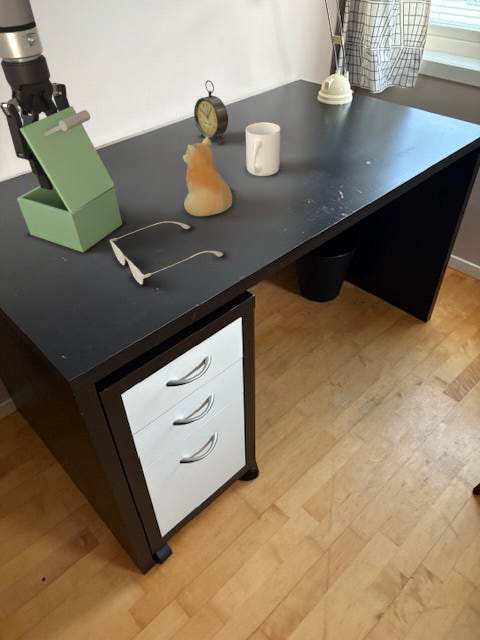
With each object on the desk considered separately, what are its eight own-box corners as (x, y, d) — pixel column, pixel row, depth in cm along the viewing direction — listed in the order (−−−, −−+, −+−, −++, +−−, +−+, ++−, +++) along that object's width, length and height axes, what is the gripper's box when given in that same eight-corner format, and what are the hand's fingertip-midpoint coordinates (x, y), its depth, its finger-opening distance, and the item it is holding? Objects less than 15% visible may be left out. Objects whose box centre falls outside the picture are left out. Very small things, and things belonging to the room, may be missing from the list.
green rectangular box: (30, 234, 105) (16, 198, 99) (71, 209, 113) (60, 173, 107) (83, 252, 99) (71, 214, 93) (122, 224, 107) (114, 187, 101)
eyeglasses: (111, 254, 98) (107, 238, 95) (187, 225, 105) (185, 209, 102) (145, 292, 88) (141, 274, 85) (226, 257, 95) (225, 240, 93)
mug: (237, 180, 120) (236, 138, 113) (252, 161, 129) (251, 120, 122) (270, 184, 118) (270, 142, 111) (283, 164, 126) (284, 123, 119)
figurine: (178, 197, 115) (170, 135, 105) (228, 188, 117) (225, 127, 107) (190, 222, 106) (182, 157, 96) (243, 212, 109) (241, 147, 99)
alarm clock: (195, 137, 143) (189, 78, 132) (209, 132, 146) (204, 74, 135) (218, 146, 137) (214, 86, 126) (232, 141, 139) (230, 82, 129)
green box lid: (19, 129, 85) (43, 116, 80) (70, 107, 93) (94, 94, 88) (69, 213, 93) (94, 206, 88) (112, 186, 101) (137, 178, 96)
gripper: (-11, 74, 75) (37, 205, 90) (78, 45, 87) (106, 165, 103) (-41, 69, 78) (10, 197, 93) (49, 42, 90) (80, 159, 106)
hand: (60, 180), depth 98 cm, fingers closed on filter, 7 cm apart
